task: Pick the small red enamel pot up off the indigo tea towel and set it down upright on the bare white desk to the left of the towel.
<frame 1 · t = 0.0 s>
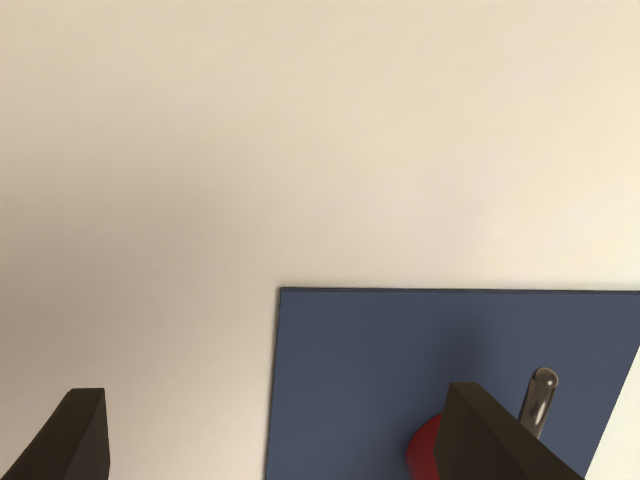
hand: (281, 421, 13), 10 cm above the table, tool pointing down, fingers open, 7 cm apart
cloth: (439, 444, 28), on the table
pot: (461, 448, 28), resting on cloth
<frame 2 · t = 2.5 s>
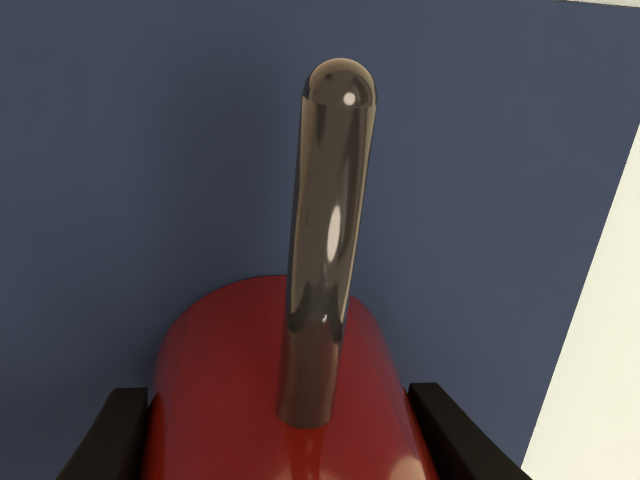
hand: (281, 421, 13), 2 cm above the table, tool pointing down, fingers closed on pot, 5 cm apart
cloth: (232, 366, 14), on the table
pot: (274, 374, 14), resting on cloth, touching gripper
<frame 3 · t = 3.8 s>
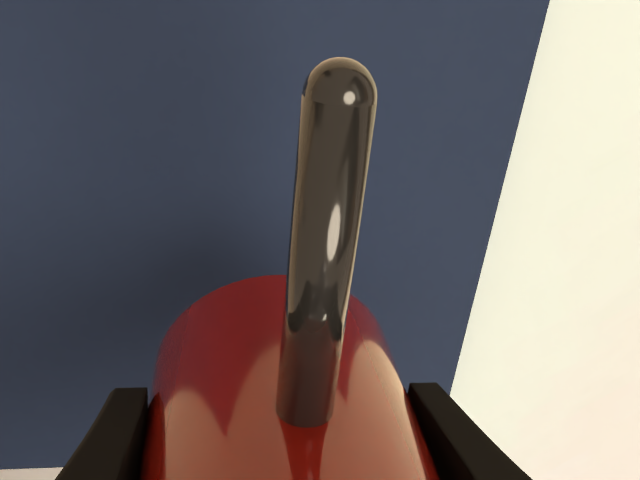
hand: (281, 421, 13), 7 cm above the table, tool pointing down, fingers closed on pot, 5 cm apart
cloth: (234, 255, 19), on the table
pot: (274, 373, 14), point 5 cm above the table, touching gripper
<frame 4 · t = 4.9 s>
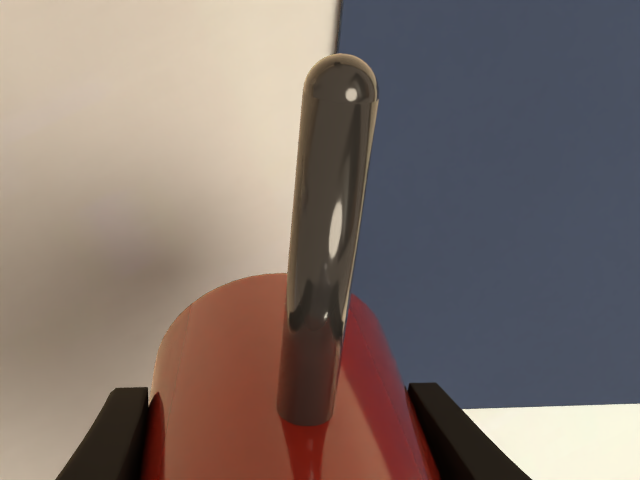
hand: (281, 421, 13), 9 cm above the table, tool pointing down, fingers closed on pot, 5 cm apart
cloth: (531, 229, 23), on the table
pot: (275, 372, 14), point 8 cm above the table, touching gripper
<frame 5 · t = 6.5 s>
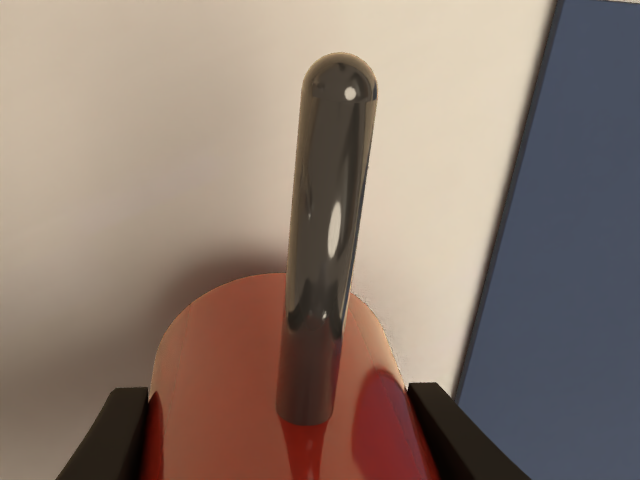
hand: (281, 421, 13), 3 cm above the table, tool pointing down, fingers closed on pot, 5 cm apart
pot: (274, 372, 14), point 2 cm above the table, touching gripper
when the fingers open (1 cm above the table, at t = 7.7 s): pot stays where it is, on the table.
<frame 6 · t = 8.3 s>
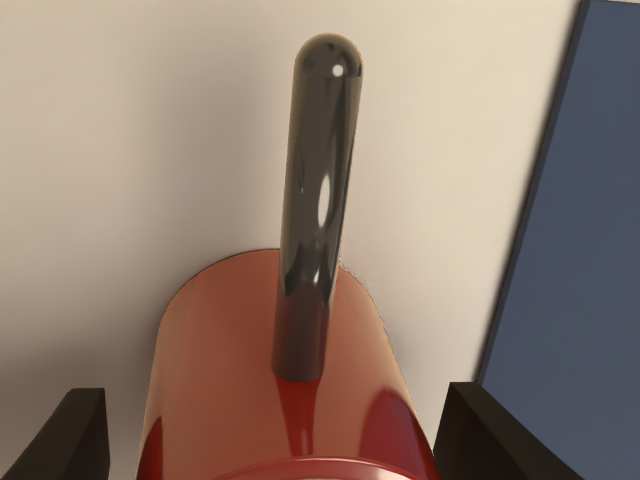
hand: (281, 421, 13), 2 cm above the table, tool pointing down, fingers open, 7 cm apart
pot: (271, 345, 15), on the table
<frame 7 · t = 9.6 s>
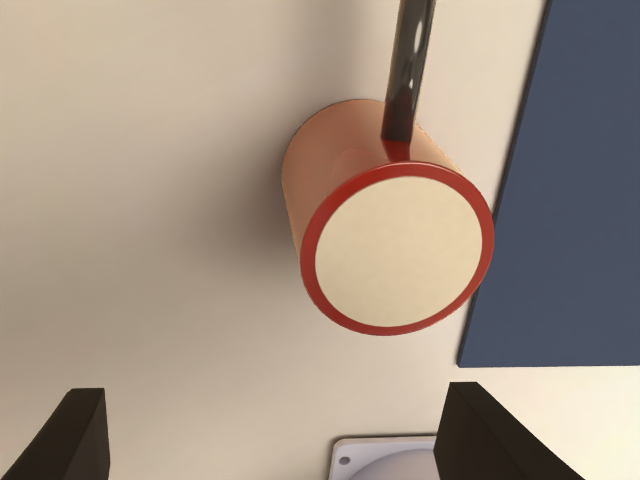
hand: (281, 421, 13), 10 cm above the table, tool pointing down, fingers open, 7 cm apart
pot: (356, 173, 22), on the table
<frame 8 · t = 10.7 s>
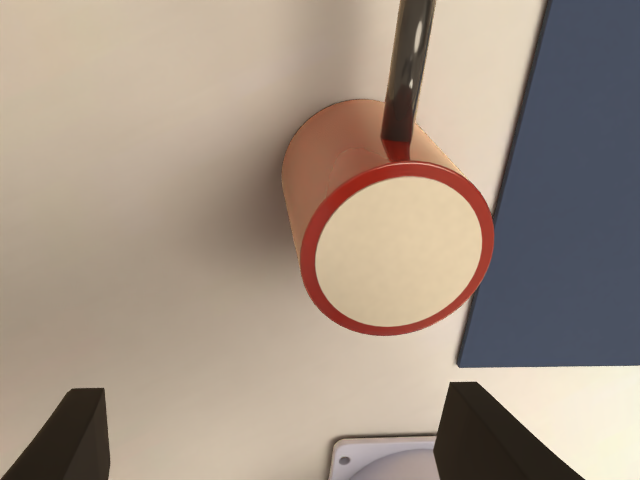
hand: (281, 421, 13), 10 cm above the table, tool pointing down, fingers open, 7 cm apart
pot: (356, 173, 22), on the table
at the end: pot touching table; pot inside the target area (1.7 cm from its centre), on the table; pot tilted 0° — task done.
